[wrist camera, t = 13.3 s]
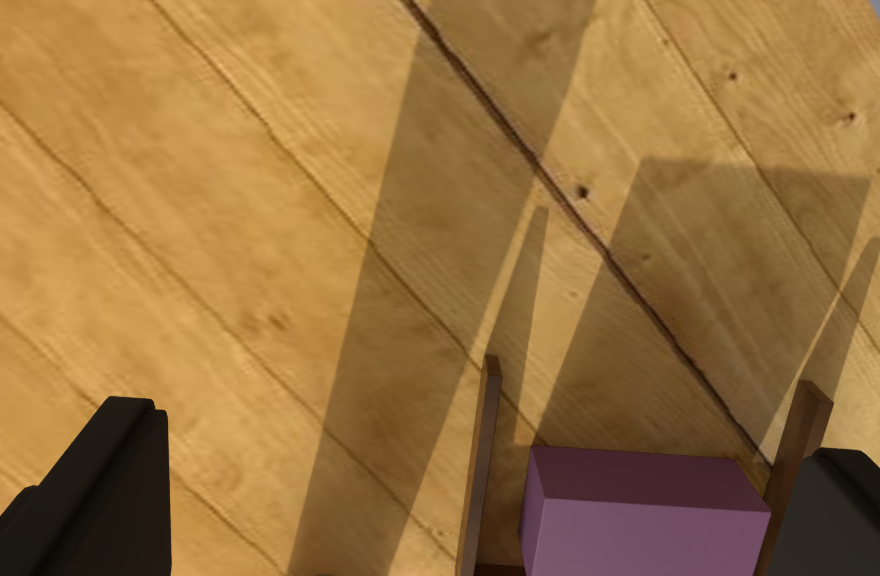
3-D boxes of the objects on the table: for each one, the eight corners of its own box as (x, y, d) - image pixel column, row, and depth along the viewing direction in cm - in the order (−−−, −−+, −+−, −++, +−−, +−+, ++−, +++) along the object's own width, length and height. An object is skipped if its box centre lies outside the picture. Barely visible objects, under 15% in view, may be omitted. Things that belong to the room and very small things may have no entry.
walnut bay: (483, 354, 41) (487, 375, 39) (811, 381, 42) (834, 402, 40) (454, 572, 46) (456, 602, 44) (748, 591, 47) (765, 621, 45)
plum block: (531, 444, 43) (545, 497, 39) (734, 458, 44) (772, 512, 39) (517, 530, 45) (529, 591, 41) (711, 542, 46) (745, 603, 41)
